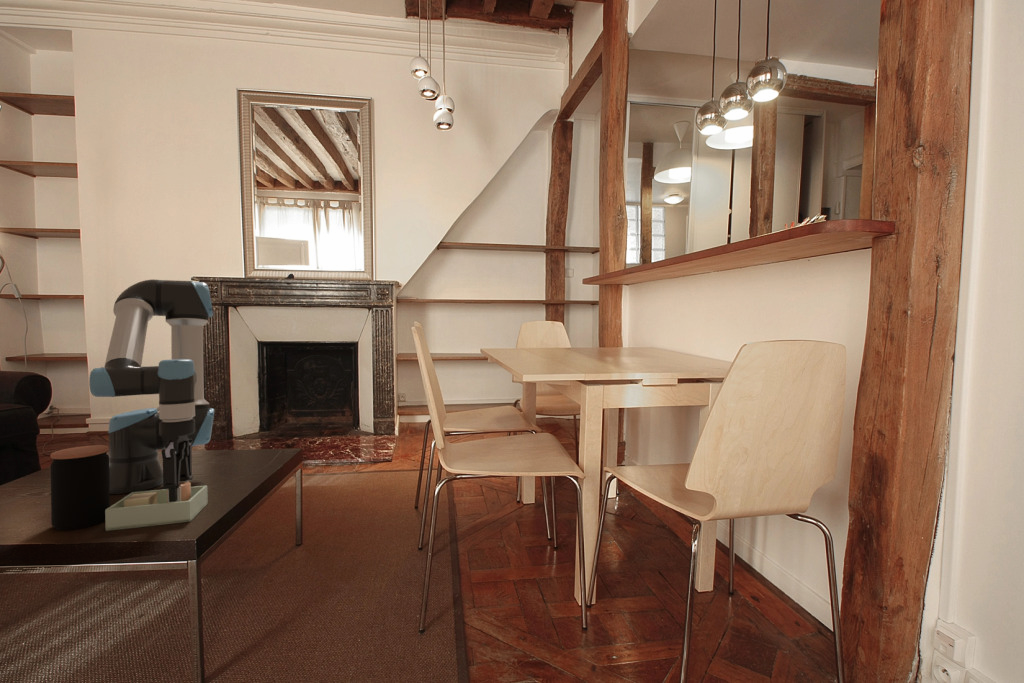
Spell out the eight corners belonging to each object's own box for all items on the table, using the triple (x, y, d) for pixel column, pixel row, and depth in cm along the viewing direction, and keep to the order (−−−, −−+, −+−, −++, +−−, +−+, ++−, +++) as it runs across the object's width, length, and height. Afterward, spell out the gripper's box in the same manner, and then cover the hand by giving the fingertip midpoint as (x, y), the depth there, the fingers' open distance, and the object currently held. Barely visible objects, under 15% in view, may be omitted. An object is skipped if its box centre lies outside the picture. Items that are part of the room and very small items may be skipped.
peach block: (171, 509, 121) (171, 483, 121) (193, 507, 123) (193, 480, 123) (163, 516, 116) (163, 488, 116) (187, 514, 118) (186, 486, 118)
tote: (132, 511, 122) (132, 492, 122) (207, 503, 127) (207, 485, 127) (105, 530, 110) (105, 509, 110) (190, 521, 115) (190, 501, 115)
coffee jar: (105, 511, 122) (104, 443, 122) (114, 521, 116) (113, 449, 115) (48, 524, 114) (47, 451, 114) (54, 535, 107) (53, 457, 107)
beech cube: (134, 513, 119) (133, 494, 119) (157, 511, 120) (156, 492, 120) (124, 521, 114) (123, 500, 114) (148, 518, 115) (148, 498, 115)
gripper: (173, 414, 127) (174, 500, 127) (144, 426, 110) (145, 524, 110) (205, 413, 129) (206, 497, 129) (181, 424, 112) (182, 520, 112)
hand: (178, 509), depth 120 cm, fingers closed on peach block, 4 cm apart
